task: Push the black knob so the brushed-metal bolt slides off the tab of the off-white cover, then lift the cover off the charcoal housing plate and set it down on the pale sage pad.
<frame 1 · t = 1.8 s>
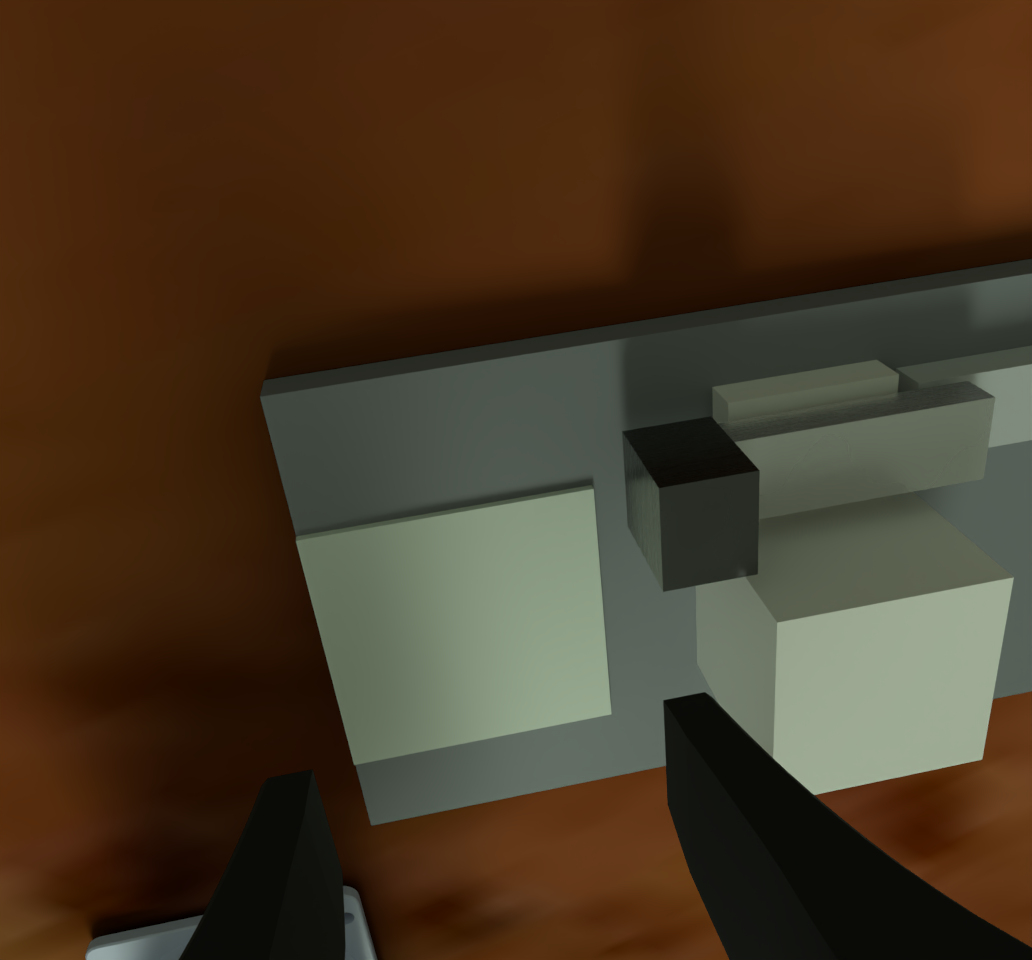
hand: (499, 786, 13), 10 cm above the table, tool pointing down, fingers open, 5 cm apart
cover: (788, 570, 24), point 1 cm above the table, touching housing plate
bolt: (823, 476, 20), point 4 cm above the table, slide at 0.0 cm
housing plate: (719, 544, 24), on the table
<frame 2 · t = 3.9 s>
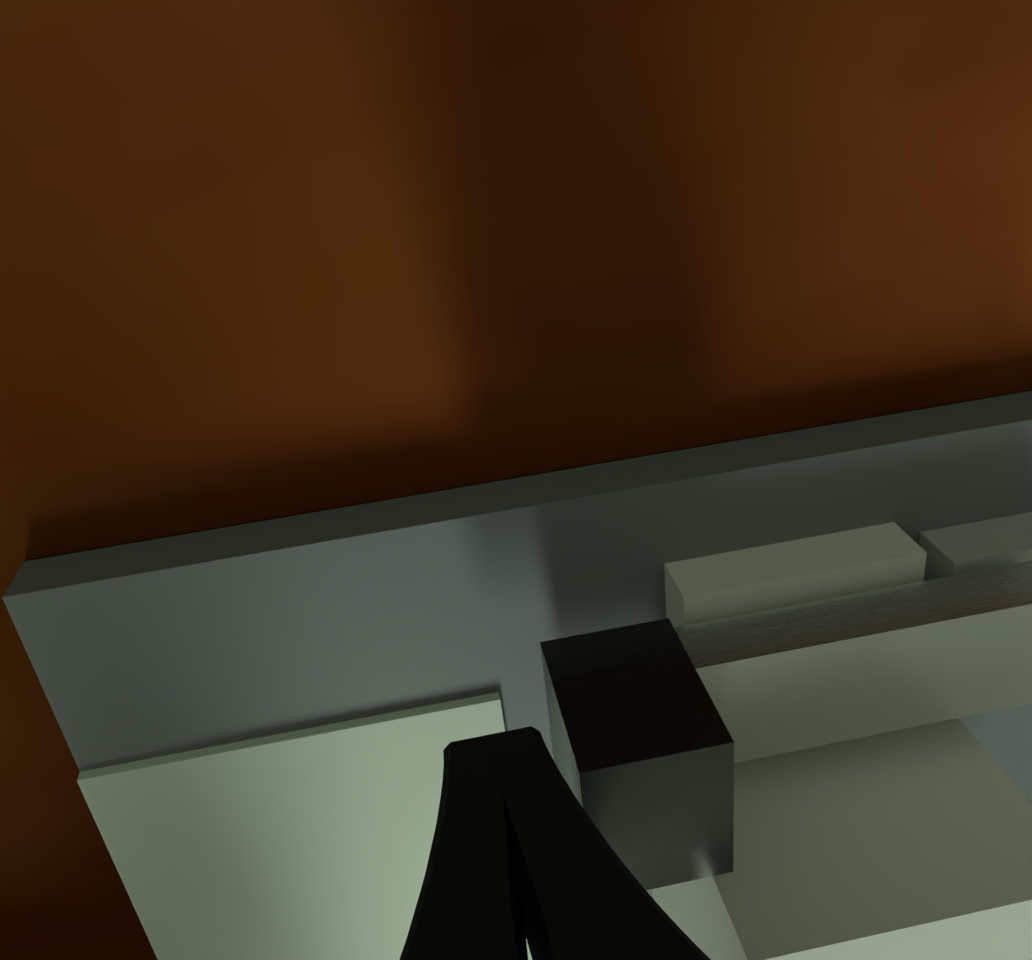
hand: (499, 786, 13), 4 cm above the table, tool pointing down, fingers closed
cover: (772, 782, 18), point 1 cm above the table, touching housing plate
bolt: (830, 712, 13), point 4 cm above the table, slide at 0.2 cm, touching gripper
housing plate: (681, 742, 18), on the table
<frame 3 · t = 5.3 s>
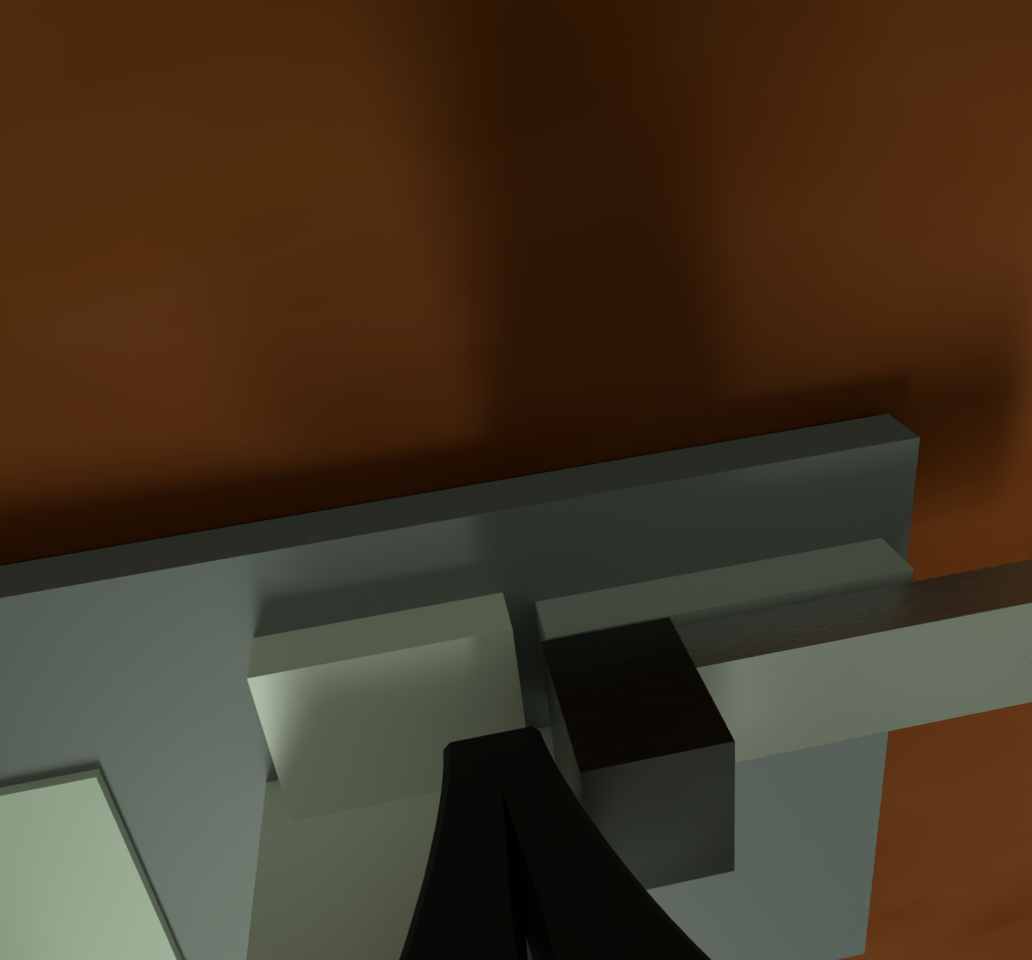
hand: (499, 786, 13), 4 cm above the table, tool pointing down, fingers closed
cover: (431, 852, 17), point 1 cm above the table, touching housing plate
bolt: (831, 711, 13), point 4 cm above the table, slide at 6.9 cm, touching gripper
housing plate: (346, 809, 18), on the table
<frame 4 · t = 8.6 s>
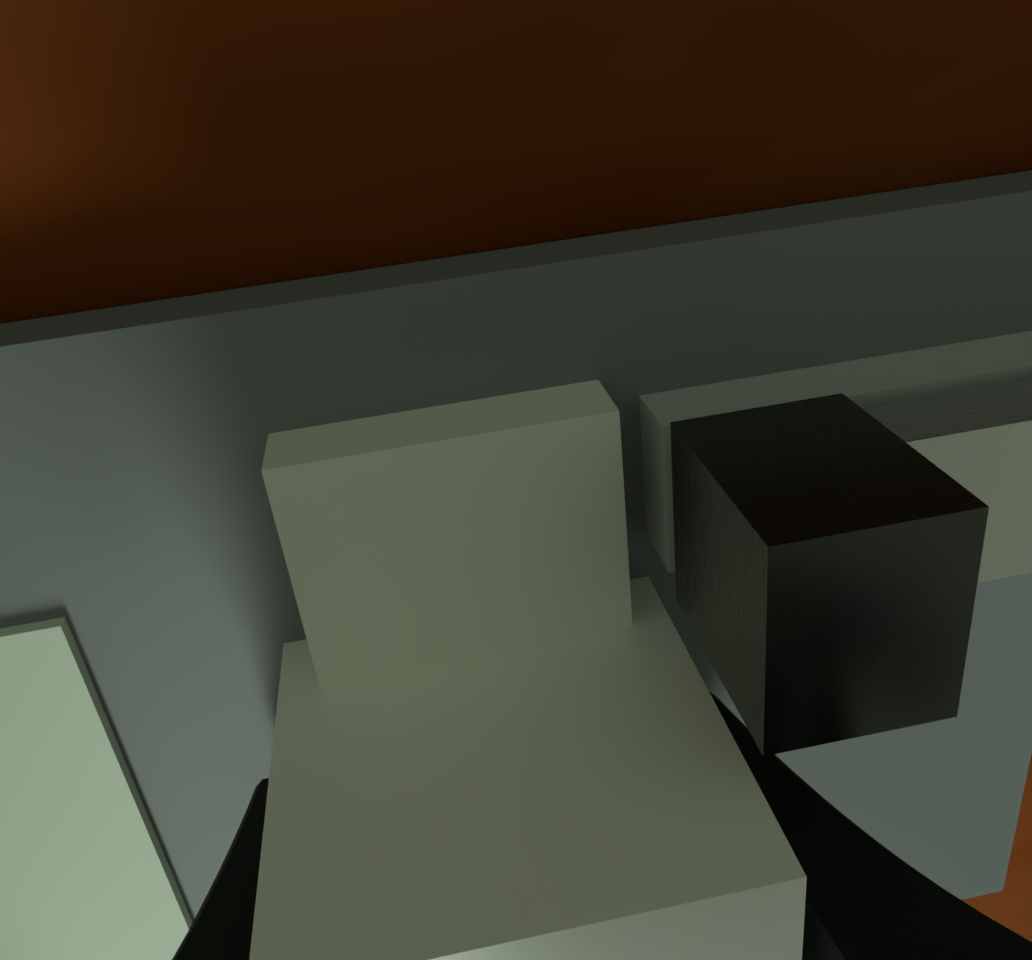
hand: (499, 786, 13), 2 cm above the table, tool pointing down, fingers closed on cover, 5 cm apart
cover: (491, 746, 14), point 1 cm above the table, touching gripper, housing plate
housing plate: (382, 695, 14), on the table
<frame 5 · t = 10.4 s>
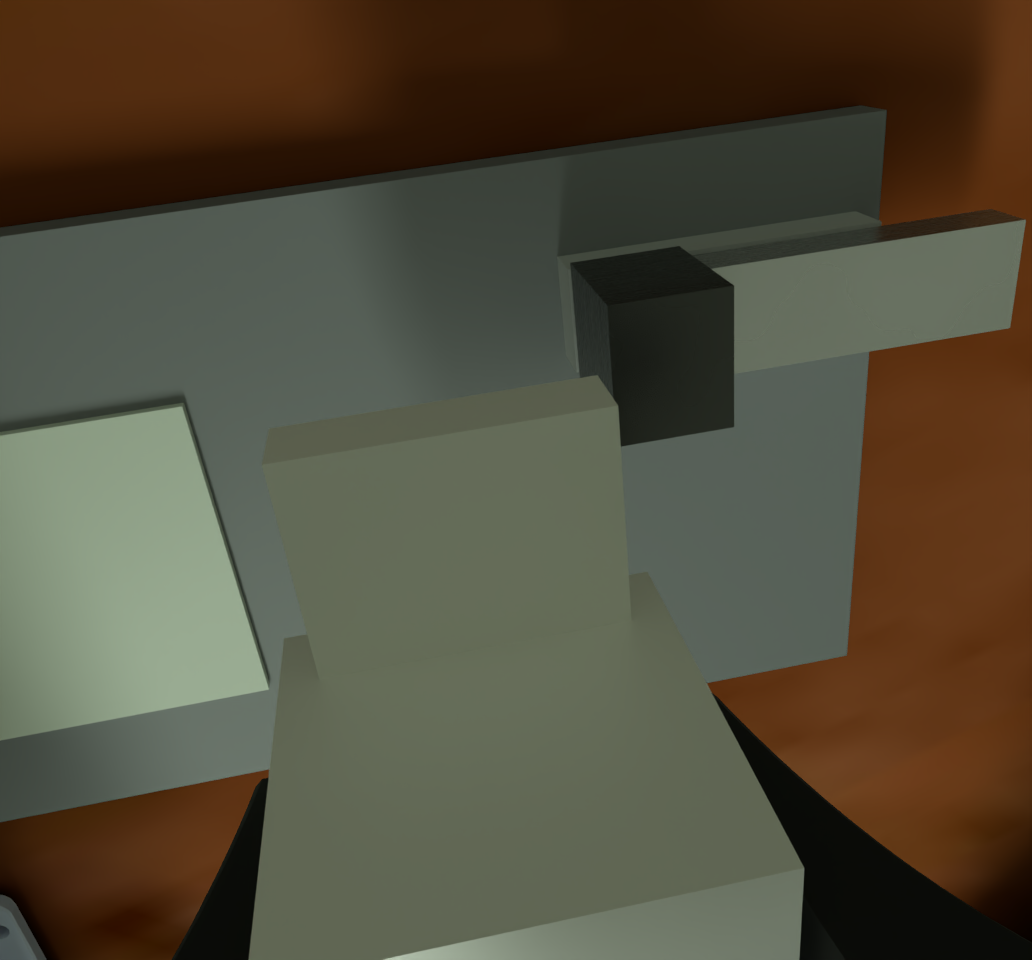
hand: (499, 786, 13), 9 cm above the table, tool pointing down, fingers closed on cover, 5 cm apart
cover: (491, 741, 14), point 8 cm above the table, touching gripper
bolt: (816, 315, 16), point 4 cm above the table, slide at 7.0 cm
housing plate: (390, 484, 20), on the table
when the fingers open (3 cm above the table, at t = 12.4 s): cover drops 1 cm, resting on housing plate.
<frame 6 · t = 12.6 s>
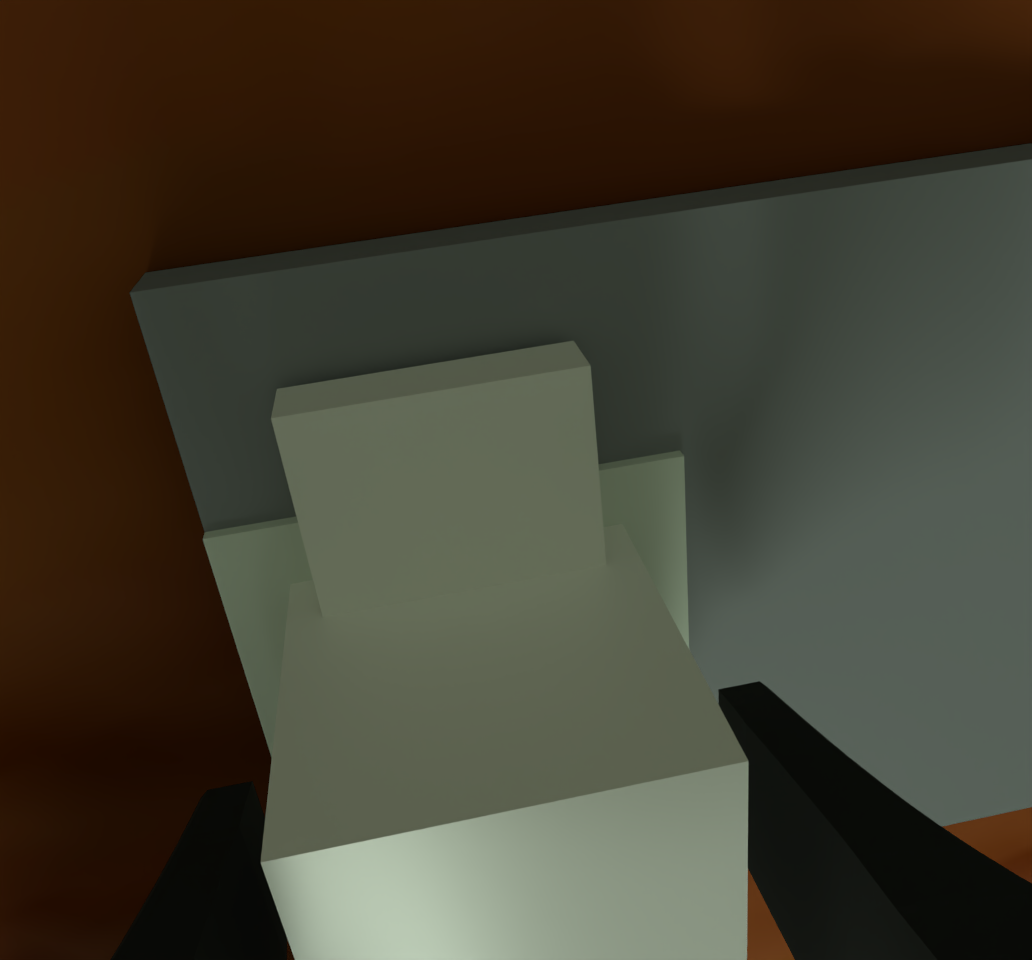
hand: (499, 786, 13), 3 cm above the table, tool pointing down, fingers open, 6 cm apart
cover: (480, 683, 15), point 1 cm above the table, touching housing plate
housing plate: (856, 545, 16), on the table
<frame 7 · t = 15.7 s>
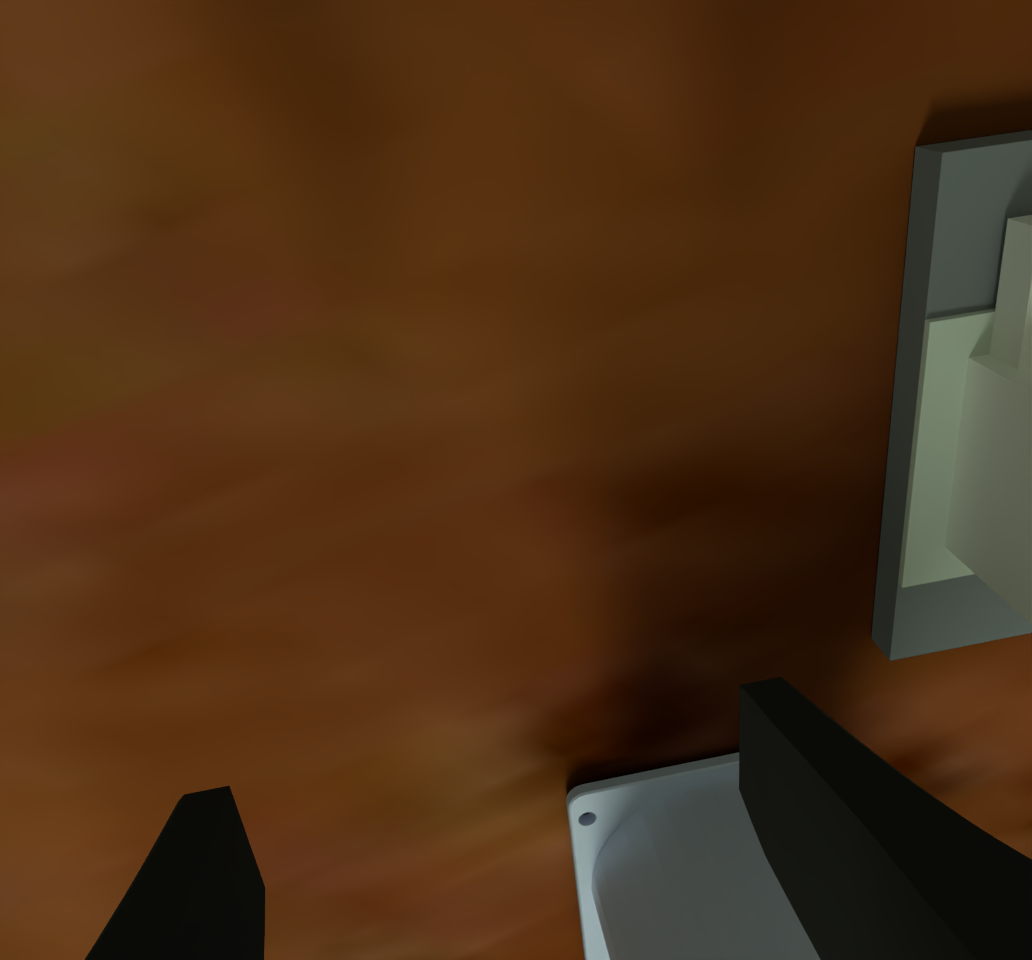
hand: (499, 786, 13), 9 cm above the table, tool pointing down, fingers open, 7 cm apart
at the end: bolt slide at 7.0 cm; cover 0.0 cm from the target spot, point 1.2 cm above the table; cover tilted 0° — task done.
